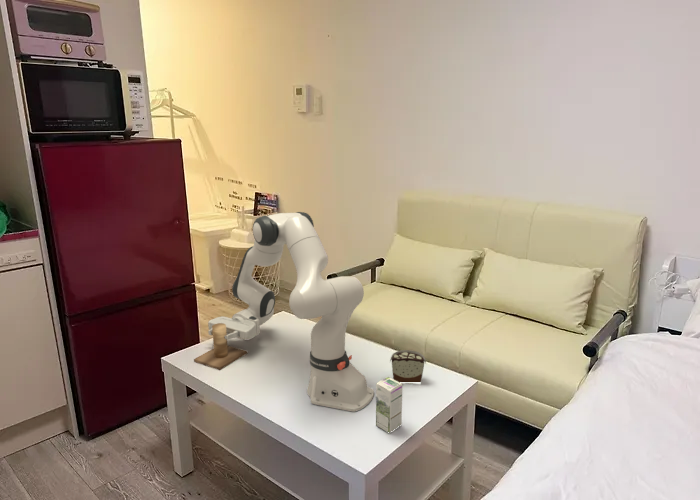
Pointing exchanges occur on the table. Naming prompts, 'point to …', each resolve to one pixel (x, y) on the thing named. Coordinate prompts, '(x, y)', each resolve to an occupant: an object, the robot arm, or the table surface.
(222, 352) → the oak roller
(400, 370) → the muffin
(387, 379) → the syrup box
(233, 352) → the board
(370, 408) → the table surface
